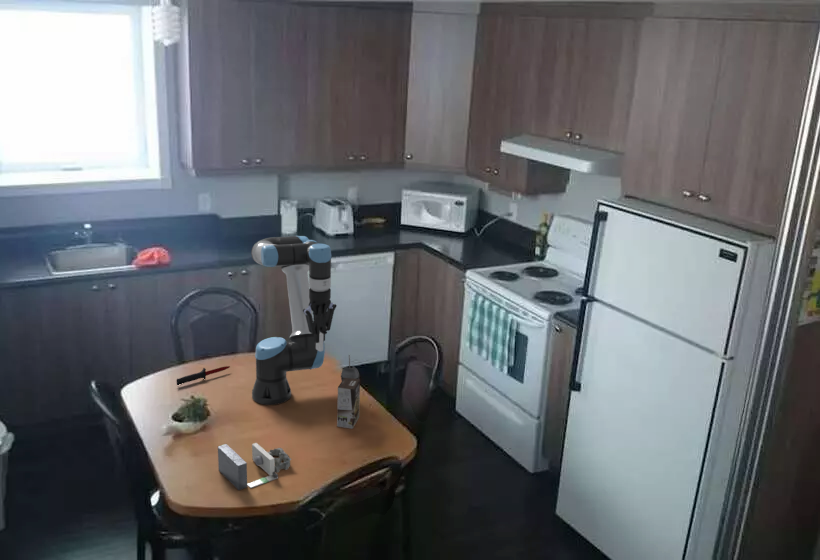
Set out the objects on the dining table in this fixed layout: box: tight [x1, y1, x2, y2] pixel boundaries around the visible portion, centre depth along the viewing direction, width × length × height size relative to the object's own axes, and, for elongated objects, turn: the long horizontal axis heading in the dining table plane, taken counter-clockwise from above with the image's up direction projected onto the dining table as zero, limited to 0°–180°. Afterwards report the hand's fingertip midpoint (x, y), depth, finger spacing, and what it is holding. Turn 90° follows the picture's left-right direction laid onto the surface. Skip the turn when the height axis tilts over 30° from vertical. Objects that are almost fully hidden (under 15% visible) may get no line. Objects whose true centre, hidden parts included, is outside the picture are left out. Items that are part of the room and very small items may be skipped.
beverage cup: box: [340, 354, 360, 381], centre depth 305 cm, size 7×7×20 cm
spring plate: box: [251, 442, 279, 478], centre depth 261 cm, size 14×3×6 cm, turn 40°
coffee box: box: [336, 378, 361, 430], centre depth 292 cm, size 9×6×16 cm
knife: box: [176, 365, 231, 386], centre depth 321 cm, size 24×2×5 cm, turn 132°
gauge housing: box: [217, 443, 279, 491], centre depth 257 cm, size 15×14×9 cm
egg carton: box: [264, 447, 292, 474], centre depth 265 cm, size 11×8×4 cm
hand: (319, 349), depth 284 cm, fingers closed
